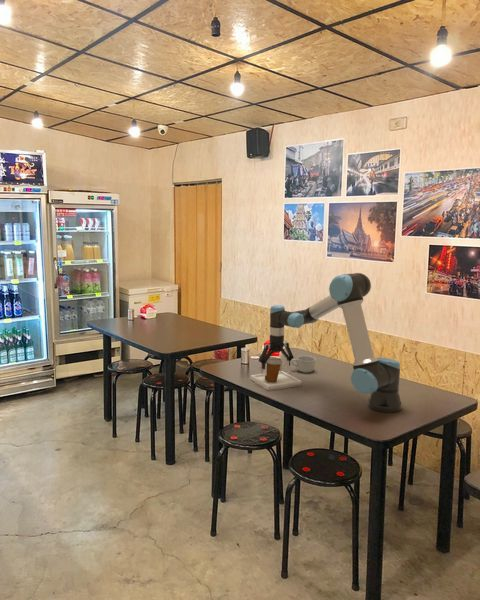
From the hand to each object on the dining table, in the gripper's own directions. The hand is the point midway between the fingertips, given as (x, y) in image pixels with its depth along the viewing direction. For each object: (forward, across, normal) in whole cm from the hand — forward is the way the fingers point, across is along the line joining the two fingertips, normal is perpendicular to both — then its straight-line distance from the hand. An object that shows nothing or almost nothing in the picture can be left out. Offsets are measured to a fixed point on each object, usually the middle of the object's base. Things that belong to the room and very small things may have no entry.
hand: (276, 373), depth 271 cm
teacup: (+5, -25, -12) cm, 28 cm away
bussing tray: (+5, 0, 0) cm, 5 cm away
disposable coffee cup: (+4, +3, 0) cm, 5 cm away
